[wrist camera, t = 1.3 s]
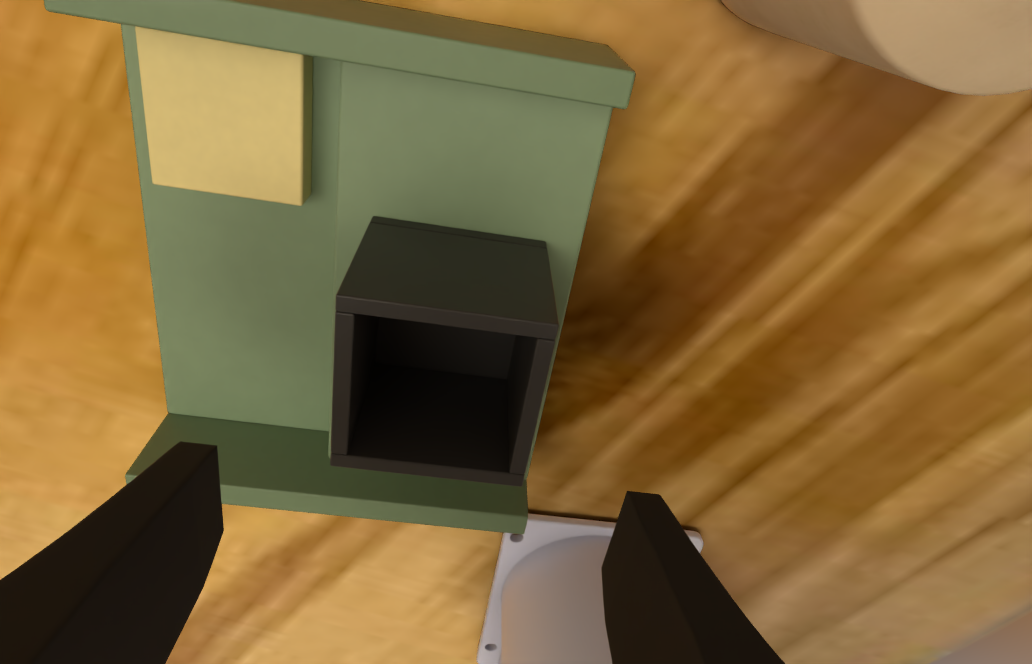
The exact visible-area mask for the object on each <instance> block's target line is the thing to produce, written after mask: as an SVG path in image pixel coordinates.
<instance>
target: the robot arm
mask: <svg viewBox="0 0 1032 664" xmlns="http://www.w3.org/2000/svg"><path fill="white" fill-rule="evenodd" d="M223 531H224V528H223V515H222V502H221V489H220V476H219V463H218V450H217V445H209V444H200V443H191V442H182V441H180V442H179V443H177V444H176V445H174V446H173V447H172V448H171V449H169V450H168V451H167V452H166V453H164V454H163V455H162V456H161V457H160V458H158V459H157V460H156V461H155V462H154V463H152V464H151V465H150V466H149V467H148V468H146V469H145V470H144V471H143V472H142V473H140V474H139V475H138V476H137V477H136V478H134V479H133V480H132V481H131V482H129V483H128V484H127V485H126V486H125V487H123V488H122V489H121V490H120V491H118V492H117V493H116V494H115V495H114V496H112V497H111V498H110V499H109V500H107V501H106V502H105V503H103V504H102V505H101V506H100V507H98V508H97V509H96V510H95V511H93V512H92V513H91V514H89V515H88V516H87V517H86V518H84V519H83V520H82V521H80V522H79V523H78V524H77V525H75V526H74V527H73V528H72V529H70V530H69V531H68V532H66V533H65V534H64V535H62V536H61V537H60V538H58V539H57V540H56V541H54V542H53V543H51V544H50V545H49V546H47V547H46V548H44V549H43V550H42V551H40V552H39V553H38V554H36V555H35V556H33V557H32V558H31V559H29V560H28V561H26V562H25V563H24V564H22V565H21V566H19V567H18V568H17V569H15V570H14V571H13V572H11V573H10V574H8V575H7V576H5V577H4V578H2V579H1V580H0V664H165V663H166V661H167V659H168V657H169V655H170V653H171V651H172V649H173V647H174V645H175V643H176V641H177V639H178V637H179V635H180V633H181V631H182V629H183V627H184V625H185V623H186V621H187V619H188V617H189V615H190V613H191V611H192V609H193V607H194V605H195V603H196V601H197V599H198V597H199V595H200V593H201V591H202V589H203V587H204V584H205V581H206V579H207V576H208V573H209V570H210V568H211V565H212V562H213V560H214V557H215V554H216V551H217V548H218V545H219V542H220V540H221V537H222V534H223ZM703 544H704V543H703V540H702V537H701V535H700V534H699V533H698V532H695V531H690V530H684V529H683V528H682V526H681V525H680V523H679V522H678V520H677V519H676V517H675V516H674V514H673V513H672V512H671V510H670V509H669V507H668V506H667V504H666V503H665V501H664V500H663V498H662V497H661V496H660V495H659V494H650V493H641V492H632V491H627V493H626V496H625V499H624V502H623V505H622V508H621V511H620V514H619V517H618V520H617V523H614V522H604V521H595V520H585V519H576V518H567V517H557V516H548V515H538V514H529V513H528V521H527V525H526V529H525V533H524V534H513V533H503V537H502V541H501V546H500V550H499V555H498V559H497V564H496V568H495V573H494V577H493V582H492V587H491V591H490V596H489V600H488V605H487V609H486V614H485V618H484V623H483V627H482V632H481V636H480V641H479V646H478V650H477V662H478V664H785V663H784V662H783V661H782V660H781V659H780V657H779V656H778V655H777V654H776V653H775V652H774V650H773V649H772V648H771V647H770V646H769V644H768V643H767V642H766V641H765V640H764V638H763V637H762V636H761V635H760V633H759V632H758V631H757V630H756V628H755V627H754V626H753V625H752V624H751V622H750V621H749V620H748V618H747V617H746V616H745V615H744V613H743V612H742V611H741V609H740V608H739V607H738V605H737V604H736V603H735V601H734V600H733V599H732V597H731V596H730V595H729V593H728V592H727V591H726V589H725V588H724V586H723V585H722V584H721V582H720V581H719V580H718V578H717V577H716V576H715V574H714V573H713V571H712V570H711V569H710V567H709V566H708V564H707V563H706V562H705V560H704V559H703V557H702V556H701V554H700V552H701V550H702V548H703Z"/></svg>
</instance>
